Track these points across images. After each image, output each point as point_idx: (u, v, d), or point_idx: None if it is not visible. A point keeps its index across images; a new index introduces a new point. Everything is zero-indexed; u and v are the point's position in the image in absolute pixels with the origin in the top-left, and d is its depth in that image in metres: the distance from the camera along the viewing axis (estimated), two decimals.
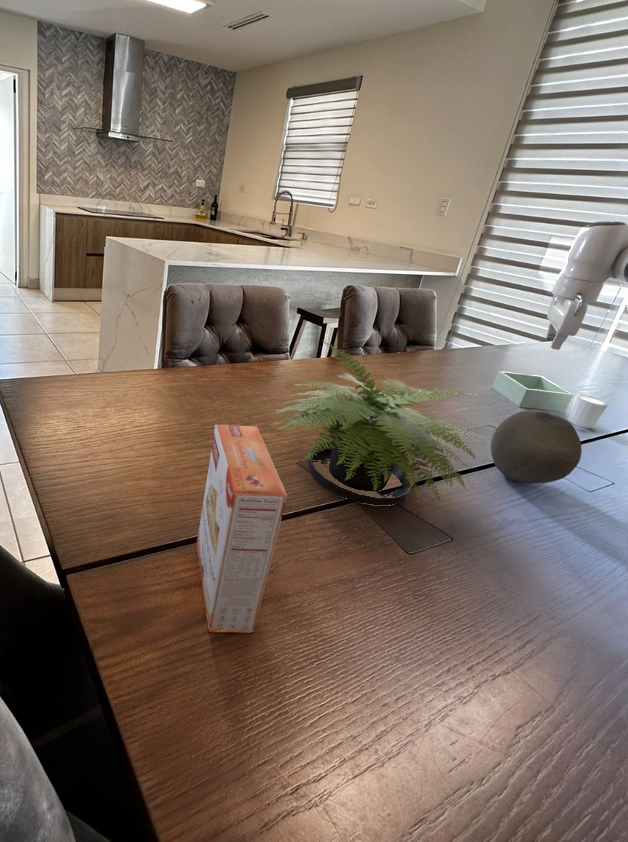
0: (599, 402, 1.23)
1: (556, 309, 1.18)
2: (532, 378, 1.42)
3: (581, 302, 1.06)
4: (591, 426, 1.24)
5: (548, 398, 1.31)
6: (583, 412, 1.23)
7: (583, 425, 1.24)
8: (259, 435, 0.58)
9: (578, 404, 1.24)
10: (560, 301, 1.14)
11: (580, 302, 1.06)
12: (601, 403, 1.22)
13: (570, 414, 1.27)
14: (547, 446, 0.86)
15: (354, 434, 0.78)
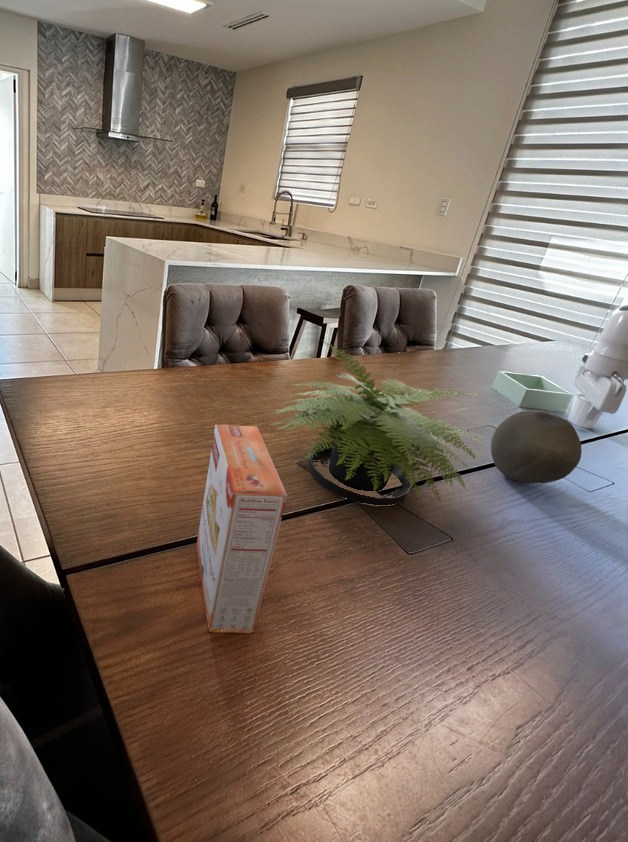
0: None
1: (588, 382, 1.24)
2: (532, 378, 1.42)
3: (622, 384, 1.12)
4: (591, 426, 1.24)
5: (548, 398, 1.31)
6: (583, 412, 1.23)
7: (583, 425, 1.24)
8: (259, 435, 0.58)
9: (578, 404, 1.24)
10: (595, 377, 1.20)
11: (621, 384, 1.12)
12: None
13: (570, 414, 1.27)
14: (547, 446, 0.86)
15: (354, 434, 0.78)
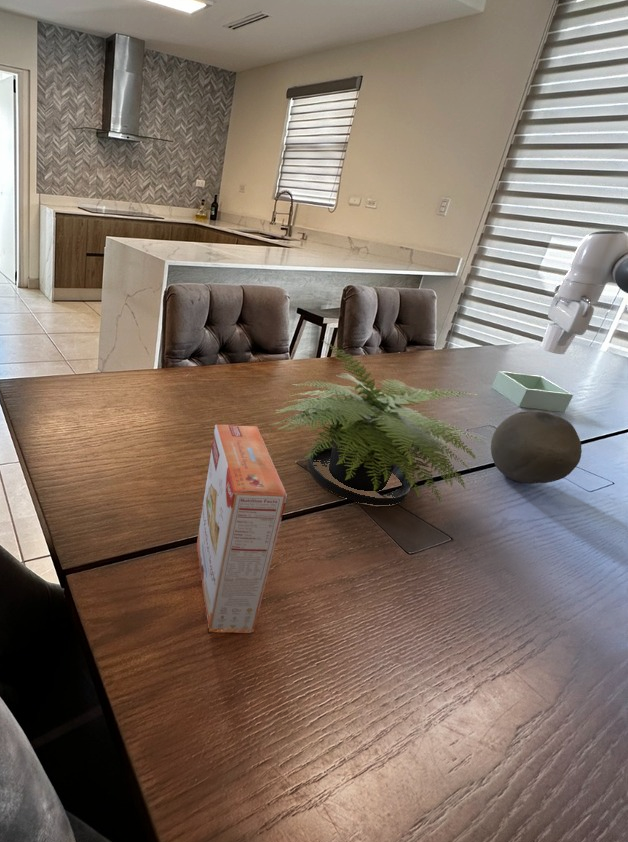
0: None
1: (560, 310, 1.29)
2: (532, 378, 1.42)
3: (589, 305, 1.17)
4: (562, 352, 1.29)
5: (548, 398, 1.31)
6: (555, 338, 1.28)
7: (555, 351, 1.29)
8: (259, 435, 0.58)
9: (550, 331, 1.29)
10: (566, 303, 1.25)
11: (588, 305, 1.17)
12: None
13: (543, 342, 1.31)
14: (547, 446, 0.86)
15: (354, 434, 0.78)
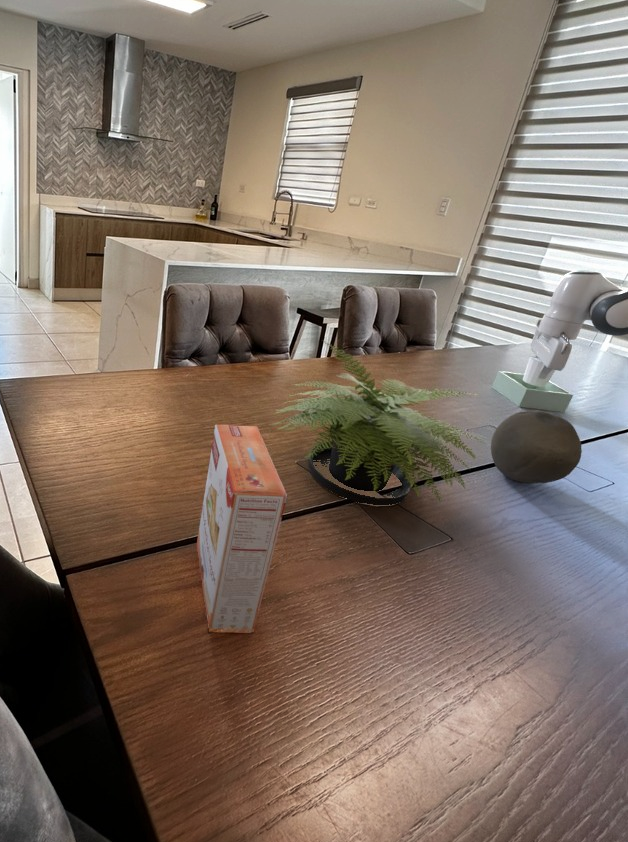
0: None
1: (541, 344, 1.34)
2: None
3: (567, 342, 1.22)
4: (543, 385, 1.34)
5: (548, 398, 1.31)
6: (536, 371, 1.33)
7: (536, 384, 1.34)
8: (259, 435, 0.58)
9: (532, 365, 1.34)
10: (546, 338, 1.30)
11: (566, 342, 1.22)
12: None
13: (525, 374, 1.36)
14: (547, 446, 0.86)
15: (354, 434, 0.78)
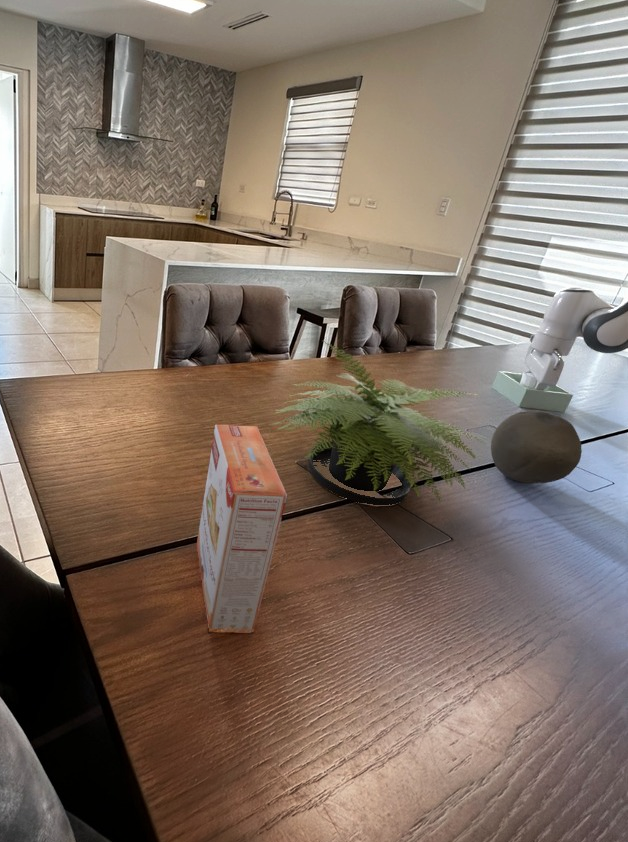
0: None
1: (534, 359, 1.36)
2: None
3: (560, 359, 1.24)
4: None
5: (548, 398, 1.31)
6: (529, 387, 1.35)
7: None
8: (259, 435, 0.58)
9: (525, 380, 1.36)
10: (539, 354, 1.32)
11: (559, 359, 1.24)
12: None
13: None
14: (547, 446, 0.86)
15: (354, 434, 0.78)
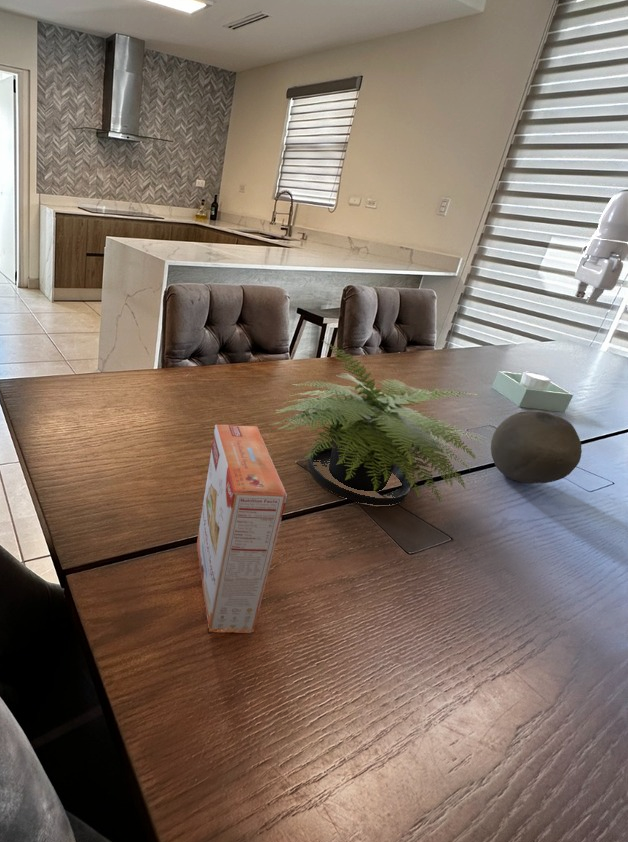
0: (543, 378, 1.35)
1: (588, 269, 1.33)
2: None
3: (619, 259, 1.21)
4: None
5: (548, 398, 1.31)
6: (529, 387, 1.35)
7: None
8: (259, 435, 0.58)
9: (525, 380, 1.36)
10: (594, 261, 1.29)
11: (618, 259, 1.21)
12: (545, 379, 1.34)
13: None
14: (547, 446, 0.86)
15: (354, 434, 0.78)
